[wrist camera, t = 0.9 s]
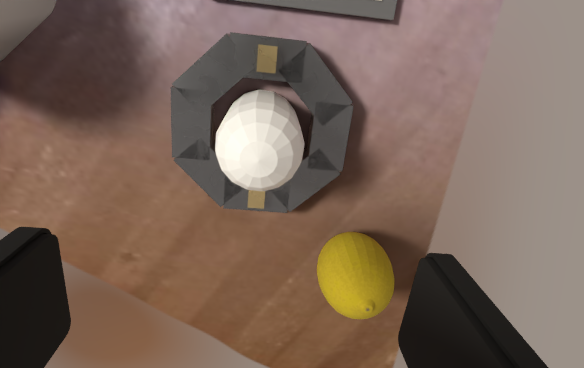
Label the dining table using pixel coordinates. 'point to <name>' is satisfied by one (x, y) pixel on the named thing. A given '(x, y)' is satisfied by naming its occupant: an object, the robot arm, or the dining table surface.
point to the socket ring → (269, 66)
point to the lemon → (355, 275)
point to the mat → (338, 6)
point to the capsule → (260, 141)
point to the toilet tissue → (20, 21)
